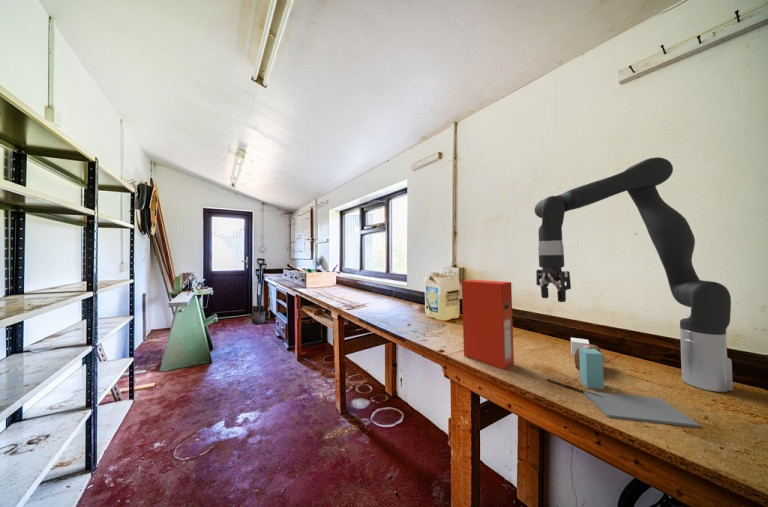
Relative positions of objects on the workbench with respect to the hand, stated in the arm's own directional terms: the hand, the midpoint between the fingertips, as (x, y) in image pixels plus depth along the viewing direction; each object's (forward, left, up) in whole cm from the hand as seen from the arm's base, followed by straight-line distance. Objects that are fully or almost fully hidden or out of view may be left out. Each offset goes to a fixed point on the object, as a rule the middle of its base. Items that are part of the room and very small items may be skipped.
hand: (552, 299), depth 90 cm
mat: (-13, +17, -27) cm, 34 cm away
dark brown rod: (-2, +10, -27) cm, 29 cm away
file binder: (+21, -9, -27) cm, 35 cm away
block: (-9, +5, -27) cm, 28 cm away
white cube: (-18, -23, -27) cm, 39 cm away
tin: (-14, -8, -27) cm, 31 cm away
